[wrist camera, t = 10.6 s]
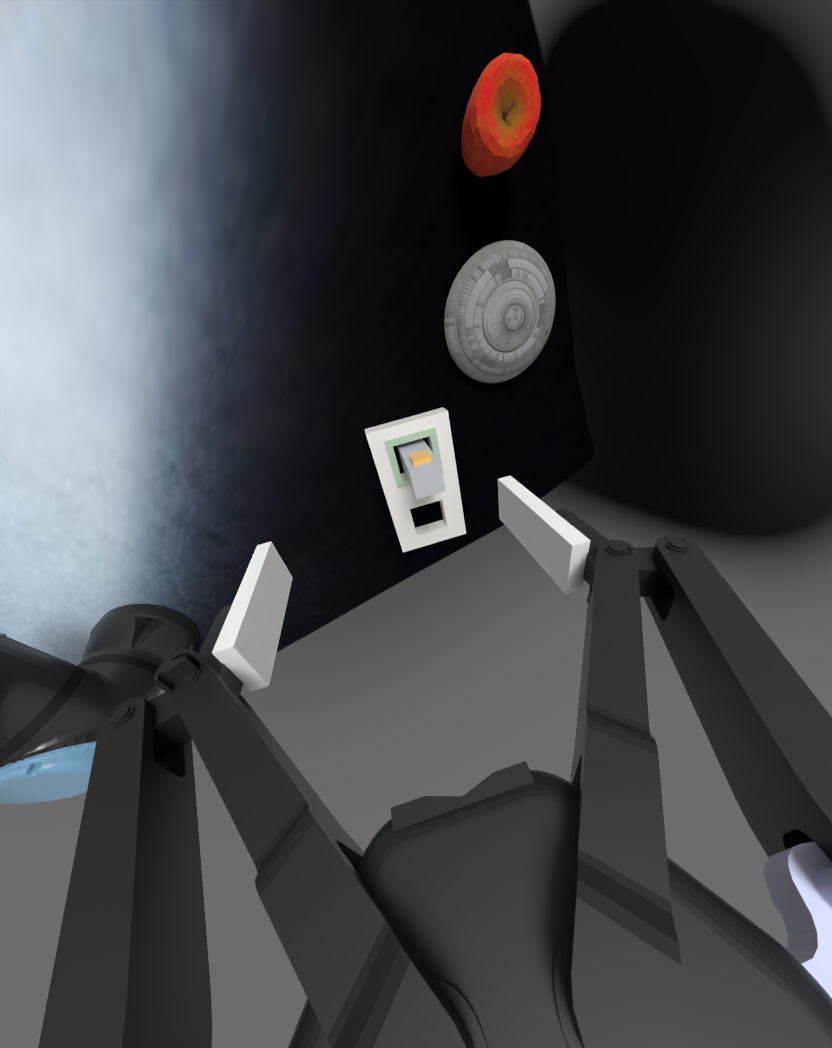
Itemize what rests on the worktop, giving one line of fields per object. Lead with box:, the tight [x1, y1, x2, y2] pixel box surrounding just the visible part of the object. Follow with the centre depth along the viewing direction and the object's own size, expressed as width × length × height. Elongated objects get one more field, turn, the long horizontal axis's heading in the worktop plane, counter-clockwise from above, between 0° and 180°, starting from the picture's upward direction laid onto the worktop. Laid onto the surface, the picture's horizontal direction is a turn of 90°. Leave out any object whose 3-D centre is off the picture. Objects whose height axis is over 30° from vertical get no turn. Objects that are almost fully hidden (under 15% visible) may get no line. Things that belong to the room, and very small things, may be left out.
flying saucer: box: [445, 240, 555, 383], centre depth 37 cm, size 15×15×6 cm
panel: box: [365, 408, 466, 552], centre depth 48 cm, size 12×22×3 cm, turn 12°
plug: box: [397, 438, 446, 499], centre depth 42 cm, size 4×5×11 cm
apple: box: [461, 53, 541, 177], centre depth 27 cm, size 6×6×8 cm
